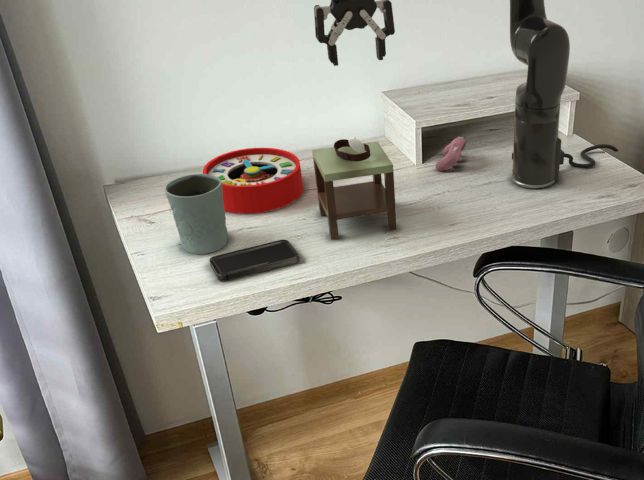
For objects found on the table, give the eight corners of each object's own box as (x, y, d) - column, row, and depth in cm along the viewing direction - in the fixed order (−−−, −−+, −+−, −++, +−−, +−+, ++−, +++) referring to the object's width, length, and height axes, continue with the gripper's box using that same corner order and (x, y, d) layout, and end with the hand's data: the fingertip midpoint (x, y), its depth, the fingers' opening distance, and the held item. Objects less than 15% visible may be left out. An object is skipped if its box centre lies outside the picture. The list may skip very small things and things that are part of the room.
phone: (207, 257, 149) (286, 238, 154) (208, 263, 149) (287, 243, 155) (219, 277, 143) (300, 256, 148) (220, 282, 144) (301, 261, 149)
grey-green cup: (182, 260, 150) (168, 200, 143) (174, 236, 158) (160, 178, 151) (237, 248, 154) (226, 190, 146) (227, 225, 161) (215, 169, 154)
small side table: (381, 203, 168) (377, 141, 160) (396, 229, 159) (393, 164, 151) (319, 212, 165) (312, 149, 157) (331, 240, 156) (324, 174, 148)
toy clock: (216, 195, 159) (192, 158, 173) (221, 222, 162) (198, 183, 177) (313, 174, 166) (283, 141, 181) (316, 200, 170) (286, 165, 184)
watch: (376, 156, 154) (375, 138, 152) (361, 165, 151) (360, 146, 149) (343, 148, 157) (342, 130, 155) (328, 157, 154) (326, 138, 152)
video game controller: (451, 179, 181) (465, 153, 177) (433, 169, 180) (446, 143, 176) (459, 161, 189) (473, 136, 184) (442, 152, 188) (455, 126, 184)
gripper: (313, -24, 137) (324, 72, 147) (394, -32, 141) (400, 63, 150) (305, -33, 143) (316, 60, 152) (383, -41, 146) (389, 51, 156)
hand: (357, 61), depth 151 cm, fingers open, 8 cm apart
